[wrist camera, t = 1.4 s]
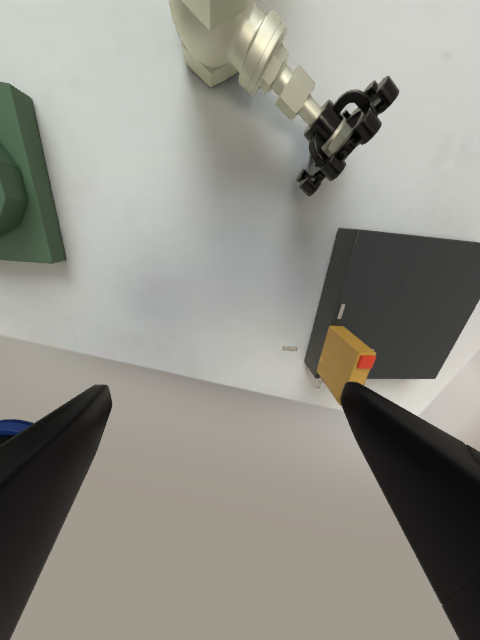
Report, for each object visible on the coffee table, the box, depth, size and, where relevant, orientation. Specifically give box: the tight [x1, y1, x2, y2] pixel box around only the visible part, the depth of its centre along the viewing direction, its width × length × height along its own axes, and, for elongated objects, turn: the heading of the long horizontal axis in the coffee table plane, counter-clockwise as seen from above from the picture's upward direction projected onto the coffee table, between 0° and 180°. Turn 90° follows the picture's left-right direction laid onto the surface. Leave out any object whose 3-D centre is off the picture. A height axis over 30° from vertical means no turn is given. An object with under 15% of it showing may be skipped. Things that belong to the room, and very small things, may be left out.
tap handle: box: [317, 326, 376, 405], centre depth 19 cm, size 5×1×5 cm, turn 174°
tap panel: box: [282, 228, 480, 388], centre depth 22 cm, size 15×18×3 cm
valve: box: [169, 0, 399, 196], centre depth 12 cm, size 7×7×12 cm
